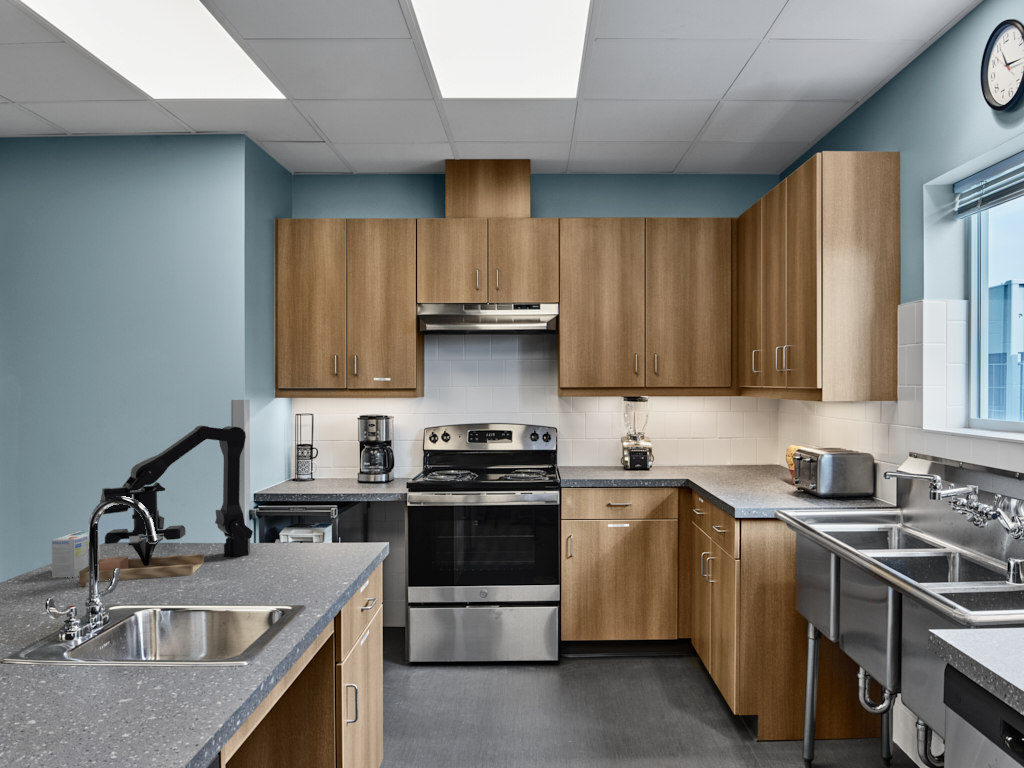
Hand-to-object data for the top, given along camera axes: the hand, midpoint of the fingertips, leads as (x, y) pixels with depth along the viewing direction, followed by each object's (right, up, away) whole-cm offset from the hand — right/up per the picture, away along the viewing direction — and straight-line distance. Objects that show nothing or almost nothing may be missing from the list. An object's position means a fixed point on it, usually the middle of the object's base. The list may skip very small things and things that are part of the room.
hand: (146, 565), depth 176 cm
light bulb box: (-22, -4, +4) cm, 23 cm away
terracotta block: (-8, -2, -2) cm, 8 cm away
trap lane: (0, -3, 0) cm, 3 cm away
